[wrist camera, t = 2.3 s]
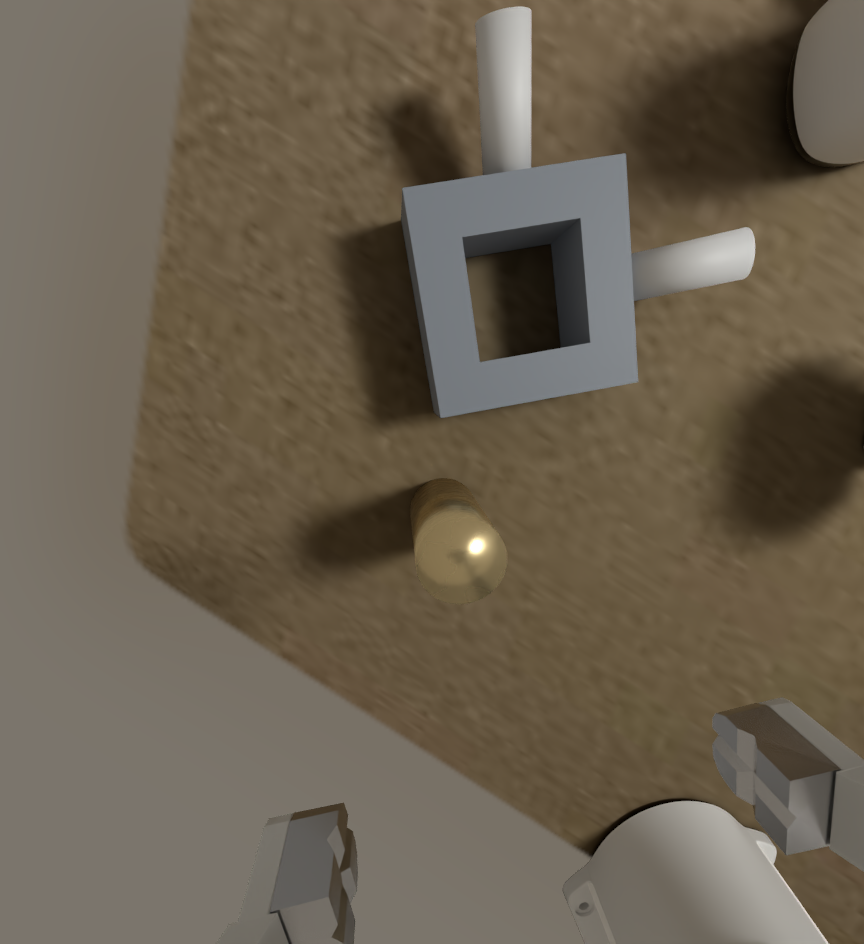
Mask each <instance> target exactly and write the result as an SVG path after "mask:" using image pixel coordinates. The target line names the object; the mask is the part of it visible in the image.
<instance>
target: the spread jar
mask: <svg viewBox="0 0 864 944" xmlns="http://www.w3.org/2000/svg"><path fill="white" fill-rule="evenodd" d="M786 116H787V123H788V128H789V132H790V135H791V138H792V141H793V143H794V146H795V148H796V150H797V151H798V153H799V154H800V155H801V156H802V157H803V158H804V159H805V160H807V161H808V162H810V163H812V164H815V165H818V166H823V167H840V166H847V165H852V164H857V163H860V162H863V161H864V0H828V1H827V2H826V3H825V4H824V5H823V6H822V7H821V8H820V9H819V10H818V11H817V13H816V14H815V15H814V16H813V17H812V19H811V20H810V21H809V22H808V24H807V26H806V27H805V29H804V31H803V33H802V35H801V37H800V39H799V41H798V44H797V46H796V49H795V53H794V56H793V60H792V64H791V67H790V72H789V77H788V83H787V93H786Z"/></svg>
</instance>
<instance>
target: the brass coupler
mask: <svg viewBox="0 0 864 944" xmlns="http://www.w3.org/2000/svg"><path fill="white" fill-rule="evenodd" d="M410 518H411V527H412V536H413V545H414V554H415V564H416V572H417V575H418V578H419V581H420V583H421V584H422V586H423V587H424V588H425V590H426V591H427V592H428V593H429V594H430V595H432V596H433V597H435V598H436V599H438V600H440V601H443V602H446V603H450V604H468V603H472V602H475V601H478V600H480V599H482V598H484V597H486V596H487V595H488V594H490V593H491V592H492V591H493V590H494V589H495V588H496V587H497V586H498V585H499V583H500V582H501V580H502V578H503V576H504V574H505V571H506V566H507V552H506V547H505V545H504V542H503V540H502V539H501V537H500V535H499V534H498V532H497V531H496V529H495V528H494V526H493V525H492V523H491V522H490V520H489V519H488V518H487V516H486V515H485V513H484V512H483V510H482V509H481V507H480V506H479V504H478V503H477V501H476V500H475V498H474V497H473V495H472V494H471V492H470V491H469V489H468V488H467V487H466V486H464V485H463V484H462V483H460V482H458V481H456V480H452V479H447V478H441V479H435V480H432V481H430V482H428V483H426V484H424V485H423V486H422V487H421V488H419V489H418V491H417V492H416V493H415V495H414V497H413V499H412V501H411V505H410Z"/></svg>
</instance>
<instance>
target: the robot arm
mask: <svg viewBox="0 0 864 944" xmlns="http://www.w3.org/2000/svg"><path fill="white" fill-rule="evenodd" d="M713 729H714V730H715V731H716V732H717V733H718V734H719V735H718V737H717V738H716V740H715V741H714V743H713V757H714V760H715V762H716V765H717V768H718V770H719V772H720V774H721V776H722V777H723V779H724V780H725V782H726V784H727V785H728V786H729V787H730V788H731V790H732V791H733V792H734V793H735V795H736V796H738V797H739V798H741V799H743V800H745V801H746V802H748V803H750V804H752V805H753V809H754V815H755V819H756V820H757V821H758V822H759V824H760V825H761V826H762V827H763V828H764V830H765V831H766V832H767V833H768V834H769V836H770V837H771V838H772V839H773V840H774V842H775V843H776V844H777V845H778V846H779V848H780V849H781V850H782V851H783V852H784V853H785V855H790V854H794V853H799V852H803V851H808V850H812V849H817V848H821V847H826V846H830V847H829V849H830V850H832V851H833V852H835V853H836V854H838V855H839V856H841V857H842V858H844V859H845V860H847V861H848V862H850V863H851V864H853V865H854V866H856V867H858V868H859V869H861V870H862V871H864V760H863V759H862V758H861V757H860V756H858V755H857V754H856V753H855V752H853V751H852V750H851V749H850V748H848V747H847V746H846V745H845V744H843V743H842V742H841V741H840V740H838V739H837V738H836V737H835V736H833V735H832V734H831V733H830V732H828V731H827V730H826V729H825V728H823V727H822V726H821V725H820V724H818V723H817V722H816V721H815V720H813V719H812V718H811V717H810V716H808V715H807V714H806V713H805V712H803V711H802V710H801V709H800V708H798V707H797V706H796V705H795V704H794V703H792V702H791V701H789V700H787V699H785V698H777V699H773V700H769V701H765V702H760V703H754V704H750V705H746V706H742V707H738V708H734V709H730V710H726V711H722V712H719V713H716V714H715V715H714V717H713ZM347 820H348V814H347V811H346V808H345V805H344V803H340V804H335V805H330V806H326V807H320V808H316V809H311V810H306V811H301V812H296V813H292V814H287V815H283V816H278V817H274V818H270V819H269V820H268V822H267V824H266V825H265V827H264V829H263V832H262V836H261V840H260V843H259V847H258V850H257V854H256V858H255V861H254V865H253V868H252V872H251V876H250V879H249V883H248V887H247V890H246V894H245V898H244V901H243V905H242V908H241V912H240V916H239V919H238V922H235V923H232V924H230V925H229V926H228V927H227V928H226V930H225V931H224V933H223V934H222V935H221V937H220V938H219V940H218V941H217V942H216V944H354V930H355V919H354V915H353V912H352V908H351V905H350V902H351V901H352V899H353V897H354V895H355V894H356V892H357V877H358V866H357V850H356V843H355V838H354V835H353V831H352V830H350V829H348V828H347ZM776 853H777V851H776V848H775V847H774V845H773V844H772V842H771V841H770V839H769V838H768V836H767V835H766V834H764V833H762V832H760V831H757V830H753V829H750V828H746V827H744V826H742V825H741V824H740V823H738V822H737V821H736V819H734V818H733V817H732V816H731V815H730V814H729V813H728V812H726V811H725V810H723V809H721V808H719V807H717V806H715V805H712V804H708V803H704V802H697V801H678V802H671V803H666V804H662V805H658V806H655V807H652V808H649V809H647V810H644V811H642V812H640V813H638V814H636V815H634V816H633V817H631V818H629V819H628V820H626V821H625V822H623V823H622V824H620V825H619V826H618V827H617V828H615V829H614V830H613V831H612V832H611V833H610V834H609V835H608V836H607V837H606V838H605V839H604V841H603V842H602V843H601V845H600V846H599V847H598V849H597V850H596V852H595V854H594V855H593V857H592V858H591V860H590V861H589V862H588V863H587V864H586V865H585V866H584V867H583V868H581V869H580V870H579V871H577V872H576V873H575V874H574V875H573V876H571V877H570V878H569V879H568V880H567V881H566V882H565V884H564V886H563V893H564V896H565V898H566V900H567V903H568V905H569V907H570V909H571V912H572V914H573V917H574V919H575V921H576V924H577V926H578V929H579V931H580V933H581V936H582V938H583V941H584V943H585V944H828V942H827V941H826V939H825V938H824V936H823V935H822V933H821V932H820V931H819V929H818V928H817V926H816V925H815V923H814V922H813V921H812V919H811V918H810V916H809V915H808V913H807V912H806V910H805V909H804V908H803V906H802V905H801V903H800V902H799V900H798V899H797V898H796V896H795V895H794V893H793V892H792V891H791V889H790V888H789V886H788V885H787V883H786V882H785V881H784V879H783V878H782V876H781V875H780V873H779V872H778V871H777V869H776V868H775V866H774V862H775V858H776Z"/></svg>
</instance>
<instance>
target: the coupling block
mask: <svg viewBox="0 0 864 944" xmlns="http://www.w3.org/2000/svg"><path fill="white" fill-rule="evenodd" d="M475 28H476V48H477V68H478V87H479V107H480V127H481V147H482V166H483V175H482V176H476V177H470V178H463V179H457V180H450V181H444V182H437V183H431V184H425V185H418V186H412V187H405V188H402V210H401V222H402V228H403V234H404V240H405V246H406V251H407V257H408V263H409V269H410V275H411V281H412V287H413V293H414V298H415V304H416V310H417V316H418V322H419V328H420V334H421V340H422V345H423V351H424V357H425V363H426V369H427V375H428V381H429V386H430V392H431V398H432V404H433V410H434V413H435V414H436V415H438V416H439V417H440V418H444V417H450V416H455V415H461V414H466V413H471V412H477V411H482V410H488V409H493V408H499V407H504V406H510V405H515V404H521V403H526V402H532V401H537V400H543V399H548V398H554V397H559V396H564V395H570V394H575V393H581V392H586V391H592V390H597V389H603V388H608V387H614V386H619V385H625V384H630V383H636V382H638V370H637V351H636V333H635V314H634V301H637V300H642V299H647V298H652V297H657V296H662V295H667V294H672V293H677V292H682V291H687V290H692V289H697V288H702V287H707V286H712V285H716V284H721V283H726V282H731V281H736V280H741V279H745V278H746V277H747V276H748V275H749V273H750V271H751V269H752V266H753V262H754V257H755V239H754V235H753V232H752V230H751V229H750V228H748V227H745V228H741V229H736V230H732V231H728V232H724V233H719V234H715V235H711V236H706V237H702V238H698V239H693V240H689V241H685V242H680V243H676V244H672V245H667V246H663V247H659V248H654V249H650V250H646V251H641V252H637V253H633V254H631V240H630V222H629V203H628V185H627V166H626V153H624V154H617V155H611V156H604V157H598V158H592V159H585V160H579V161H572V162H566V163H559V164H553V165H547V166H540V167H534V168H531V9H529V8H527V7H510V8H504V9H500V10H497V11H494V12H491V13H489V14H487V15H485V16H483V17H481V18H480V19H479V20H478V21H477V22H476V24H475ZM547 244H551V251H552V261H553V272H554V282H555V293H556V303H557V314H558V324H559V335H560V345H561V348H558V349H552V350H546V351H541V352H535V353H529V354H524V355H518V356H512V357H507V358H501V359H495V360H490V361H484V362H480V361H479V353H478V346H477V339H476V332H475V325H474V318H473V311H472V304H471V296H470V289H469V282H468V275H467V268H466V261H465V258H468V257H474V256H481V255H487V254H493V253H499V252H505V251H511V250H517V249H523V248H529V247H535V246H541V245H547Z"/></svg>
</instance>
